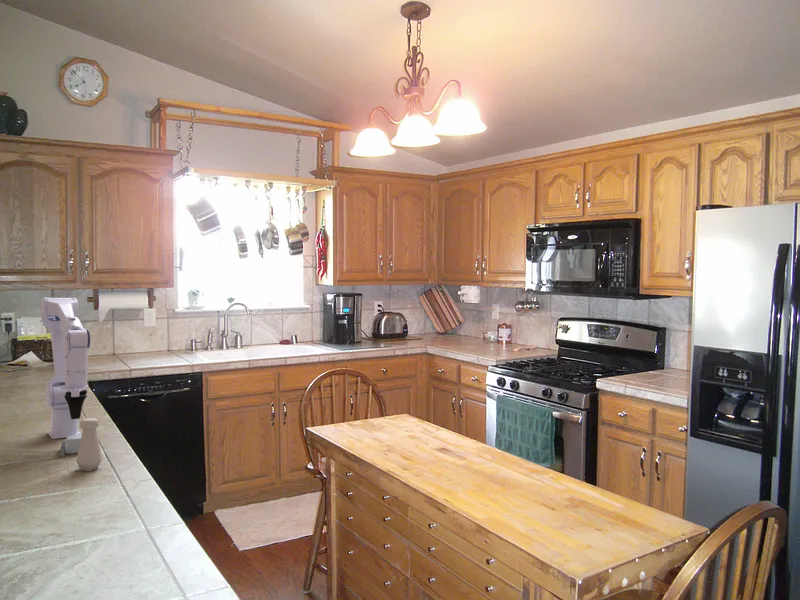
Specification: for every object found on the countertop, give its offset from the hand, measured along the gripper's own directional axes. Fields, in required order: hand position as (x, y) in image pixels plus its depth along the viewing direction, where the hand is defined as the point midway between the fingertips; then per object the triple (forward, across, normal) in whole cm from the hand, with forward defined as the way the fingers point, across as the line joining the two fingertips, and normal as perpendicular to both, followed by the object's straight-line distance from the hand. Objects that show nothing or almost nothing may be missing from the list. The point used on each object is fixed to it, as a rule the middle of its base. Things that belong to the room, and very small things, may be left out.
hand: (75, 417), depth 174 cm
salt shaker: (+9, +25, +4) cm, 26 cm away
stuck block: (+8, +7, 0) cm, 11 cm away
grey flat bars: (+8, +7, 0) cm, 11 cm away
